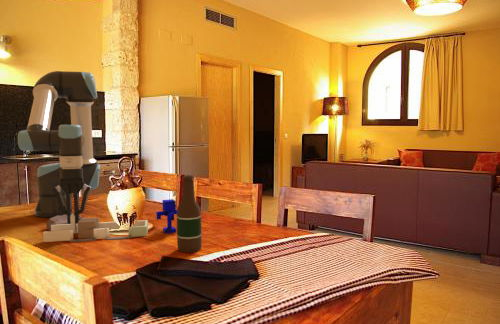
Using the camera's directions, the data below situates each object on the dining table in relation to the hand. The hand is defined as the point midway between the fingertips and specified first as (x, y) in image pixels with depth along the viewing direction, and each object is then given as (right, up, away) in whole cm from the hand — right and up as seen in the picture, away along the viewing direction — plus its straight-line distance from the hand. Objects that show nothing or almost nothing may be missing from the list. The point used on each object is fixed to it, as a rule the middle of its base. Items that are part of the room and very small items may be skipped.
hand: (73, 232), depth 146 cm
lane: (+8, -1, +2) cm, 8 cm away
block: (+5, -2, +1) cm, 5 cm away
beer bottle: (+44, -3, -16) cm, 47 cm away
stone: (-10, -1, +14) cm, 17 cm away
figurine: (+33, -1, +7) cm, 34 cm away
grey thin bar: (+11, -2, -4) cm, 12 cm away
